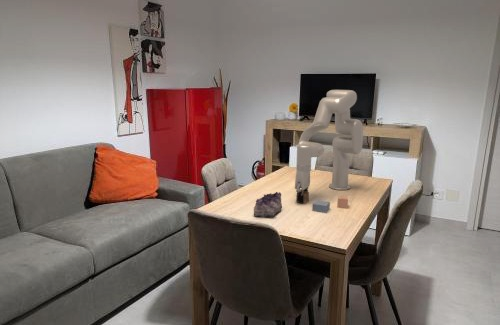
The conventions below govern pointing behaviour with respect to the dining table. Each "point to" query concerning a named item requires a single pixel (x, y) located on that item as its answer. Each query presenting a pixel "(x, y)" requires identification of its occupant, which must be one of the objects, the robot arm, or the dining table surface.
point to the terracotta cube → (342, 202)
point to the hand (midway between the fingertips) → (302, 200)
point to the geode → (268, 205)
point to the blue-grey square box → (321, 206)
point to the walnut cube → (305, 197)
